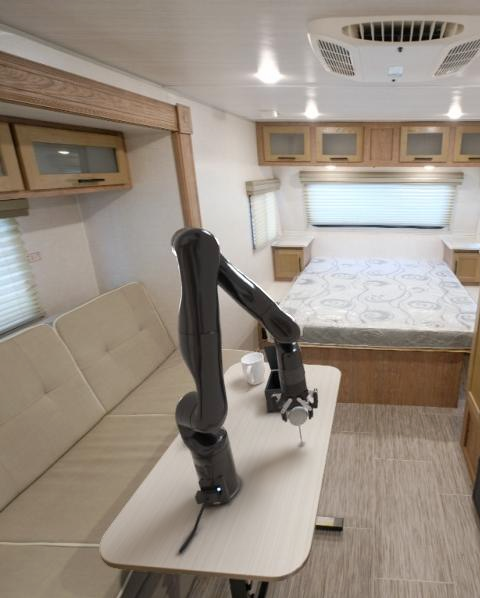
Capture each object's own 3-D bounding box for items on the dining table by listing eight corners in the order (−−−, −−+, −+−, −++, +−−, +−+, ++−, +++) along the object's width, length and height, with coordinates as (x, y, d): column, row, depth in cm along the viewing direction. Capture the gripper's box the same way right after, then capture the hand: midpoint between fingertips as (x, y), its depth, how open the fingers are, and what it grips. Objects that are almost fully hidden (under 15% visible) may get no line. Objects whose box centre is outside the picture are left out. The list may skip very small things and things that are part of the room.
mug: (249, 376, 151) (244, 352, 146) (269, 374, 152) (265, 351, 147) (240, 392, 140) (235, 368, 135) (262, 391, 141) (258, 366, 136)
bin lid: (297, 344, 130) (298, 334, 134) (263, 346, 128) (265, 336, 132) (302, 367, 139) (303, 358, 143) (270, 370, 137) (272, 360, 141)
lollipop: (313, 438, 117) (309, 403, 111) (307, 452, 112) (303, 415, 106) (296, 437, 118) (291, 402, 112) (289, 450, 112) (283, 414, 106)
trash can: (302, 409, 131) (299, 388, 127) (268, 412, 129) (264, 391, 125) (305, 387, 143) (303, 367, 140) (274, 390, 141) (271, 370, 138)
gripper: (265, 386, 100) (273, 430, 106) (315, 381, 102) (320, 424, 108) (270, 371, 107) (277, 413, 113) (317, 367, 109) (321, 408, 115)
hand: (298, 418), depth 111 cm, fingers open, 7 cm apart
